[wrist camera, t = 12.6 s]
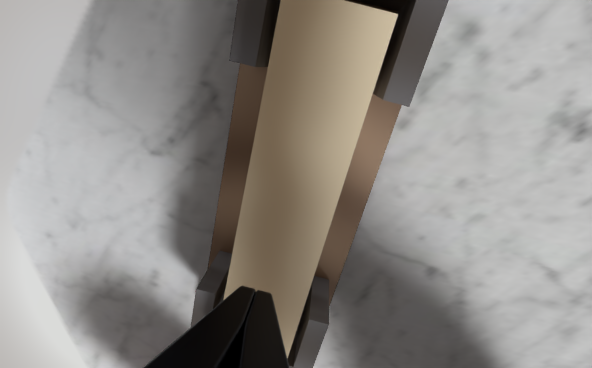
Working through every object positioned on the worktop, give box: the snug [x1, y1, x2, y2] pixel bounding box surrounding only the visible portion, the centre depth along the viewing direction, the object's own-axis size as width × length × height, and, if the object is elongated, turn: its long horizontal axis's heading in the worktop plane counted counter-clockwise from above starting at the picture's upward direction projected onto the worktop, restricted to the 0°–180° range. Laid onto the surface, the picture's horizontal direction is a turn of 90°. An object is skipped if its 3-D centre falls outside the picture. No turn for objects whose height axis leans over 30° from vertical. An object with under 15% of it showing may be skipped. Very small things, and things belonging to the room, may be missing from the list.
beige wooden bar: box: [223, 0, 398, 358], centre depth 14 cm, size 4×16×5 cm, turn 167°
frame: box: [191, 0, 448, 368], centre depth 16 cm, size 22×8×4 cm, turn 167°
